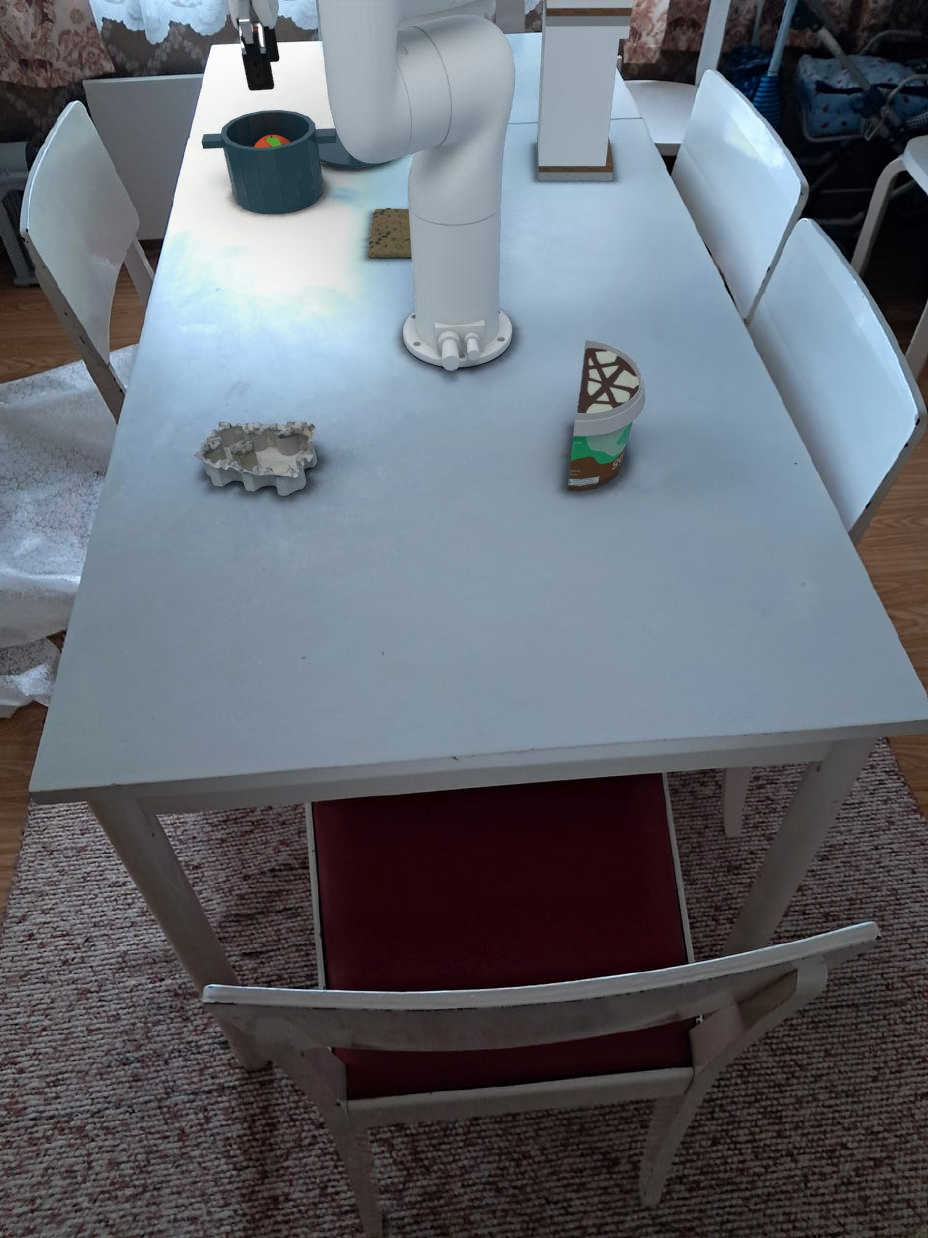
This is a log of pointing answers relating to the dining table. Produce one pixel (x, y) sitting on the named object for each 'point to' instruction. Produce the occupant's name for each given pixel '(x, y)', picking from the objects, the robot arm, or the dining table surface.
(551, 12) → the striped white pillar
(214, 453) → the egg carton
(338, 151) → the pot lid
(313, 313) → the dining table surface
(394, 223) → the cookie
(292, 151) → the pot
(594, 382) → the food container
